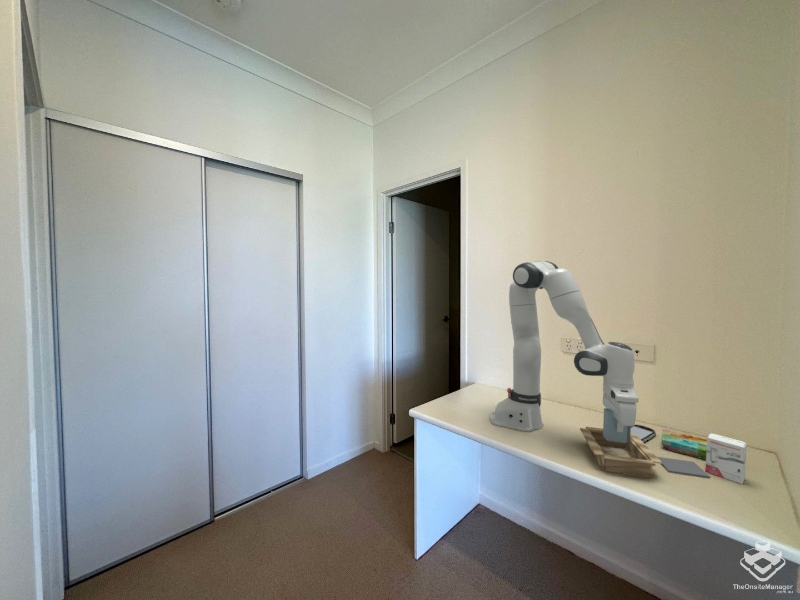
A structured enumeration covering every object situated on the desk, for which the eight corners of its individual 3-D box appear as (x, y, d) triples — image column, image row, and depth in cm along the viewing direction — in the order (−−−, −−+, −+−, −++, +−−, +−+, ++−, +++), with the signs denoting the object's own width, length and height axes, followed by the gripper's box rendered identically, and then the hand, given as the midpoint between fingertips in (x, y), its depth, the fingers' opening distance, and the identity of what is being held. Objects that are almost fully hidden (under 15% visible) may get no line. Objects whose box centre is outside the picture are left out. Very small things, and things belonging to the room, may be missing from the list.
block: (606, 440, 111) (607, 412, 110) (602, 435, 115) (603, 408, 114) (630, 443, 109) (631, 414, 108) (625, 438, 113) (626, 410, 112)
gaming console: (633, 427, 138) (634, 421, 138) (659, 435, 130) (659, 429, 130) (612, 438, 127) (612, 432, 127) (638, 448, 120) (638, 441, 120)
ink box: (704, 471, 104) (705, 436, 104) (707, 466, 107) (708, 432, 107) (743, 484, 97) (745, 447, 97) (745, 479, 100) (746, 442, 100)
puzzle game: (663, 427, 127) (735, 443, 114) (662, 438, 127) (734, 456, 114) (661, 437, 118) (740, 456, 105) (661, 450, 118) (739, 470, 105)
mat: (668, 472, 104) (668, 470, 104) (655, 458, 112) (655, 456, 112) (710, 478, 100) (710, 476, 100) (693, 463, 109) (693, 461, 109)
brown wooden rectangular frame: (664, 483, 98) (665, 465, 98) (595, 472, 103) (596, 456, 103) (633, 446, 120) (633, 432, 120) (578, 439, 126) (578, 425, 126)
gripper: (598, 380, 122) (597, 415, 122) (618, 397, 102) (616, 439, 103) (617, 381, 120) (616, 417, 120) (641, 399, 100) (639, 442, 101)
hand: (616, 427), depth 111 cm, fingers closed on block, 4 cm apart
